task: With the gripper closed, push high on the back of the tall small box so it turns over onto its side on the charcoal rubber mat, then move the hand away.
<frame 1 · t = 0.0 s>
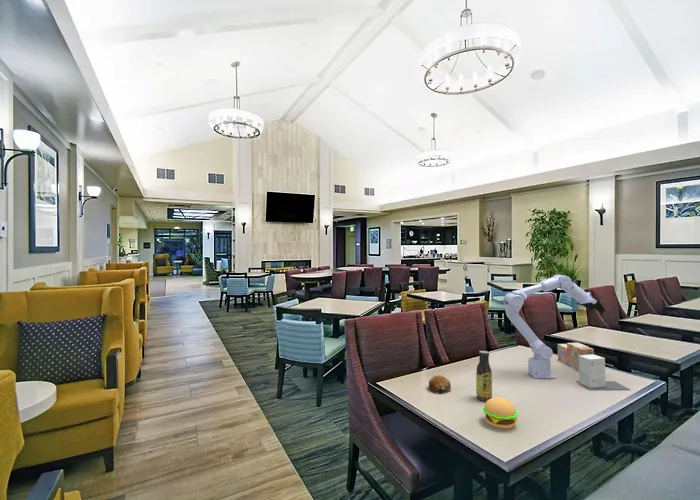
hand: (598, 310, 171), 32 cm above the table, tool tilted 50°, fingers open, 7 cm apart
mat: (602, 385, 158), on the table
stack of blocks: (575, 366, 185), on the table
small box: (592, 385, 158), resting on mat
sauce bottle: (484, 399, 147), on the table
bread roll: (439, 390, 158), on the table
hamburger: (500, 423, 126), on the table
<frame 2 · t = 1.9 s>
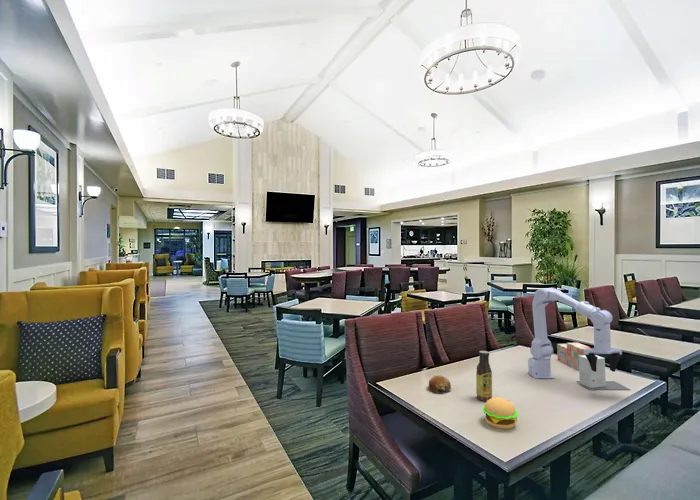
hand: (603, 370, 147), 10 cm above the table, tool pointing down, fingers open, 7 cm apart
nothing on the table moved.
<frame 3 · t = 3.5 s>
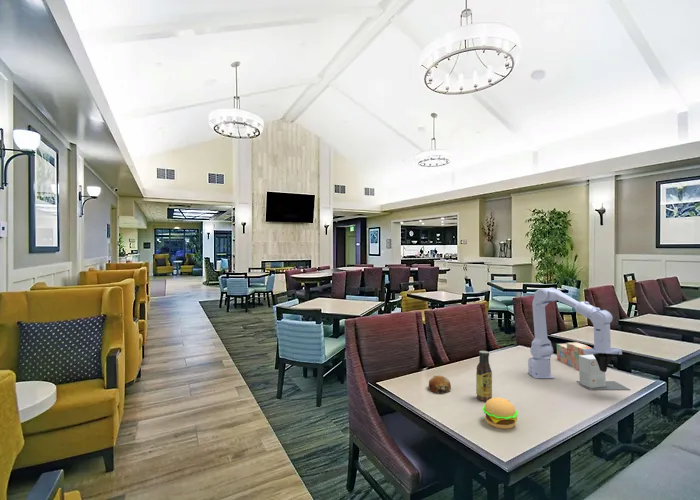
hand: (603, 371, 147), 10 cm above the table, tool pointing down, fingers closed
nothing on the table moved.
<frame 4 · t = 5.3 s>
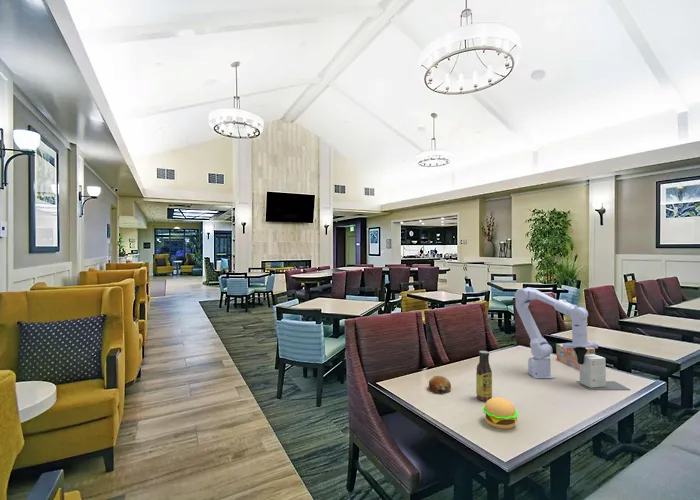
hand: (580, 363, 158), 10 cm above the table, tool pointing down, fingers closed
small box: (592, 385, 158), resting on mat, touching gripper
everything else where it was.
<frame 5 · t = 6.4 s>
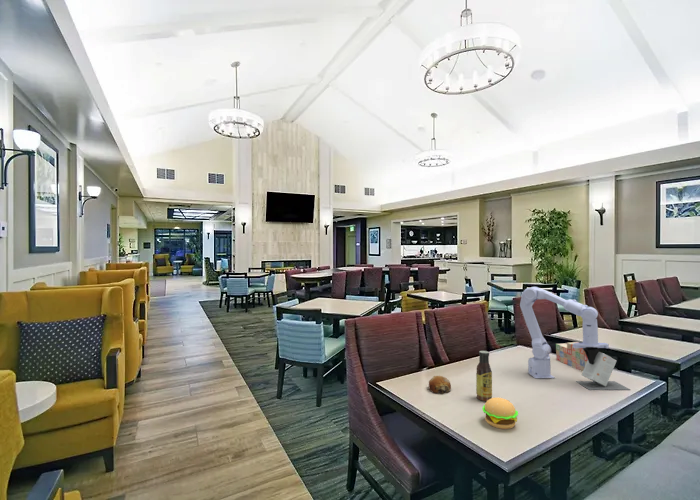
hand: (591, 363, 158), 10 cm above the table, tool pointing down, fingers closed, pressing on small box
small box: (593, 381, 158), point 2 cm above the table, touching gripper, mat
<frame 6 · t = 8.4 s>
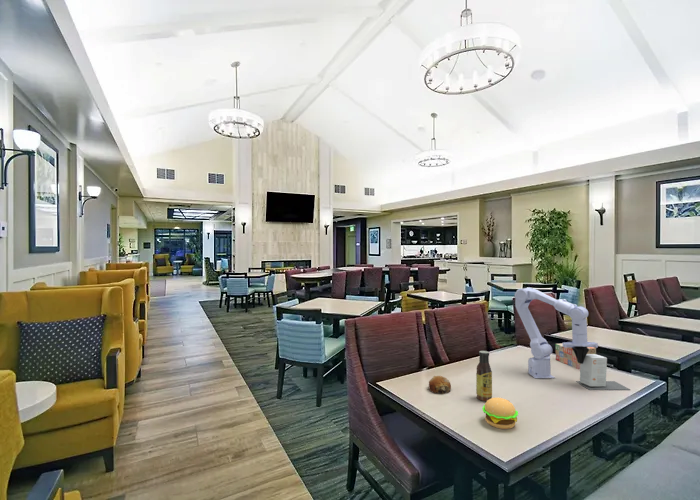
hand: (580, 363, 159), 10 cm above the table, tool pointing down, fingers closed
small box: (592, 384, 158), resting on mat, touching gripper
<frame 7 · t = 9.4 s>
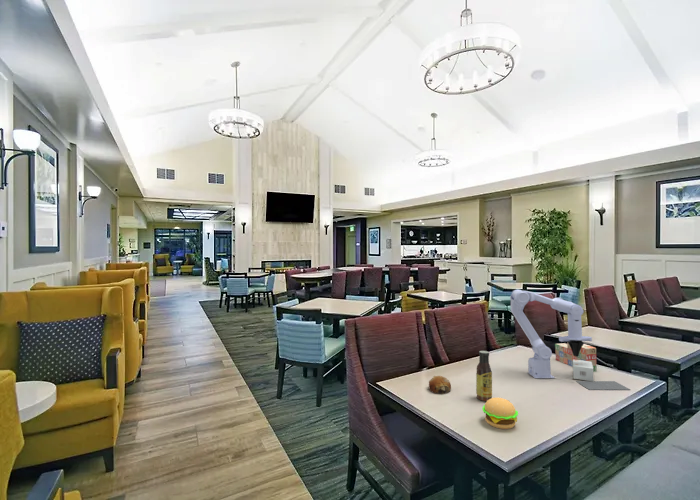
hand: (575, 355, 169), 10 cm above the table, tool pointing down, fingers closed
small box: (583, 373, 164), point 3 cm above the table, touching mat
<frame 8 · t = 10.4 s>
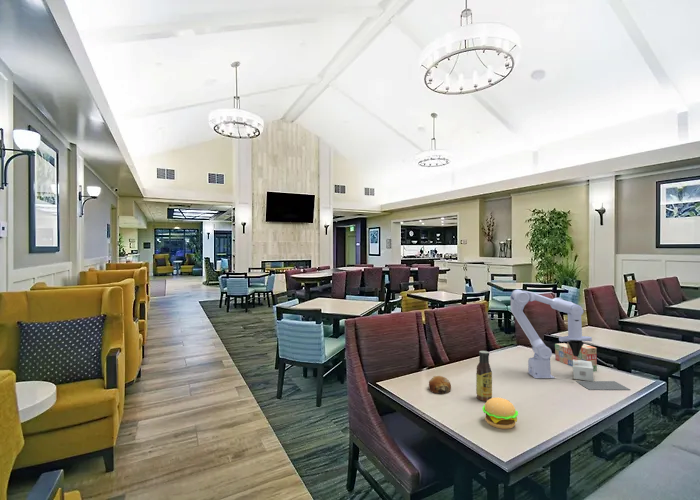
hand: (575, 355, 169), 10 cm above the table, tool pointing down, fingers closed
at the end: small box tilted 91°; small box inside the target area (11.3 cm from its centre), point 3.3 cm above the table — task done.
